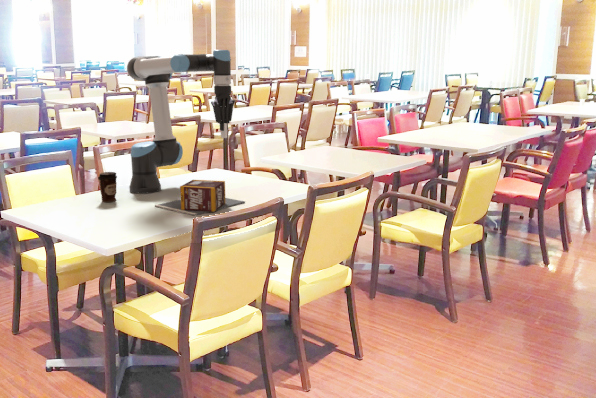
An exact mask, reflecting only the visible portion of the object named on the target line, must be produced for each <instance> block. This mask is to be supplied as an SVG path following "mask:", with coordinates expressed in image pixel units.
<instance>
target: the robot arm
mask: <svg viewBox="0 0 596 398" xmlns="http://www.w3.org/2000/svg"><path fill="white" fill-rule="evenodd" d="M231 62H232V59H231V52H230V50H229V49H213V51H212V54H211V53H209V54H207V53H206V54H205V53H198V54H183V53H181V54H174V55H167V56H159V55H155V56H135V57H132V58H131V59H130V60H128V63H127V66H126V70H127V73H128V76H129V77H130V78H131V79H133V80H135V81H138V82H144V84H145V86H146V87H147V88H148V91H149V98H150V106H151V113H152V114H151V115H152V121H153V129H154V135H155V136H154V138H153V139H152V141H142V142H137V143H134V144H133V145H132V146H131V147H130V158H131V159H130V160H131V176H132V177H131V180H130V185H129V192H131V193H133V194H151V193H156V192H160V191H161V190H162V184H161V182H160V180H159V177H158V173H157V168H161V167H166V166H167V167H168V166H173V165H177V164H178V163H179V162H181V160H182V159H183V154H184V153H183V151H184V150H183V146H182V145H181V142H179V141H178V140H177V137H176V136H175V135H174V134H173V128H172V120H171V111H170V103H169V95H168V88H167V87H168V85H169V84H170V80H171V79H172V77H173V74H177V73H189V72H194V73H195V72H213V84H214V86H213V87H214V89H213V92H214V95H215V97H214V100H213V101H211V102H210V104H211V106H212V109H213V115H214V118H215V122H216V123H217V124H219V131H220V138H222V139H227V138H228V130H229V124H230V123H231V121H232V119H233V118H232V117H233V111H234V105H235V102H236V101H235V100H234V99H232V97H231V94H232V86H231V84H232V77H231V76H232V73H231V72H232V71H231V65H232V63H231Z"/></svg>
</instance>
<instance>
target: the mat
mask: <svg viewBox="0 0 596 398" xmlns="http://www.w3.org/2000/svg"><path fill="white" fill-rule="evenodd" d="M242 204H246V201H243V200H238V199H233V198H229V197H225V204H224V205H223V206H221V207H220V208H219V209H217V210H216V211H218V210H222V209H223V210H224V209H227V208H230V207H234V206H237V205H242ZM154 207H155V208H159V207H160V208H159V209H163V208H164V209H163V210H167V211H172V212H177V213H181V214H185V215H189V214H190V216H194V217H195V215H196V216H199V215H204V214H208V213H211V212H212V211H196V210H181V198H180V199H176V200H172V201H168V202H163V203H159V204H154Z"/></svg>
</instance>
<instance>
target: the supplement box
mask: <svg viewBox="0 0 596 398" xmlns="http://www.w3.org/2000/svg"><path fill="white" fill-rule="evenodd" d="M179 190H180V191H179V192H180V199H181V210H196V211H211V212H216V211H218V210H217V209H219V208H220V207H221V206H223V205H224V204H225V198H226V181H225V180H207V179H192V180H190V181H188V182H186V183H184V184H182V185H180V186H179ZM219 210H220V209H219Z"/></svg>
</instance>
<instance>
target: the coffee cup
mask: <svg viewBox="0 0 596 398" xmlns="http://www.w3.org/2000/svg"><path fill="white" fill-rule="evenodd" d="M117 178H118V176H117V172H115V171H105V172H100V173H99V175H98V176H97V179H98V182H99V189H100V195H101V201H102V203H112V202H116V201H117V199H116V194H117V185H118V184H117Z"/></svg>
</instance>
